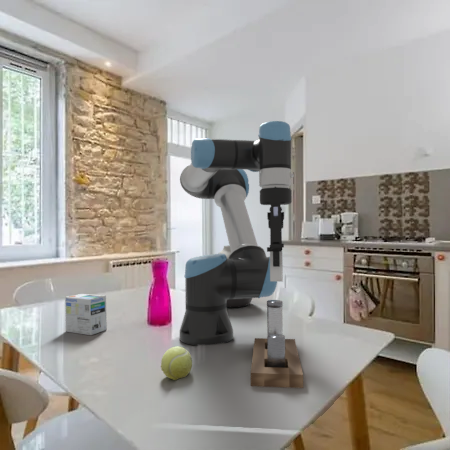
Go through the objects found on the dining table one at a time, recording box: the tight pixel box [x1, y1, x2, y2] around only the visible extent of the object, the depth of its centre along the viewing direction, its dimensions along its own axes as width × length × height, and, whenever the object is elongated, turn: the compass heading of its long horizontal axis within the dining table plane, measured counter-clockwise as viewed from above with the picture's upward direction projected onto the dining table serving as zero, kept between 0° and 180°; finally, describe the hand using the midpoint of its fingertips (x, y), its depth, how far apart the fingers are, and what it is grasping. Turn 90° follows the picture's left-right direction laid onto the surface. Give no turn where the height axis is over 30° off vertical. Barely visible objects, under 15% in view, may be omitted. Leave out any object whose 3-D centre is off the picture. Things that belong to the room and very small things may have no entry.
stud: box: [266, 299, 284, 337], centre depth 86 cm, size 4×4×13 cm
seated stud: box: [266, 334, 286, 368], centre depth 76 cm, size 4×4×8 cm
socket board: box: [250, 337, 304, 389], centre depth 81 cm, size 10×22×3 cm, turn 173°
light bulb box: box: [64, 293, 108, 336], centre depth 112 cm, size 11×7×11 cm, turn 65°
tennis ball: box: [160, 346, 193, 381], centre depth 77 cm, size 6×7×7 cm
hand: (276, 277), depth 87 cm, fingers open, 13 cm apart
